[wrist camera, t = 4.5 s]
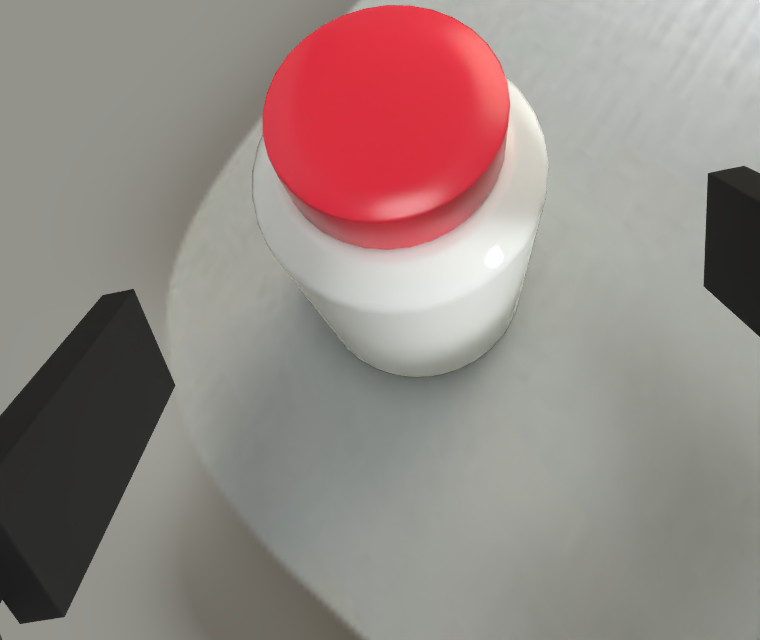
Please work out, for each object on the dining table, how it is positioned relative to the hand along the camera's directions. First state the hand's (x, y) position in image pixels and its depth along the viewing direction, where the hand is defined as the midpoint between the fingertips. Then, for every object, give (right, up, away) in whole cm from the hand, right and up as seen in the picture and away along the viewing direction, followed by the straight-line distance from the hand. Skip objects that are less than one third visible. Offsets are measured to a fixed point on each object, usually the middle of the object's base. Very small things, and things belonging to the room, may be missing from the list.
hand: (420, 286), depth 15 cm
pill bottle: (+1, +1, +10) cm, 10 cm away
